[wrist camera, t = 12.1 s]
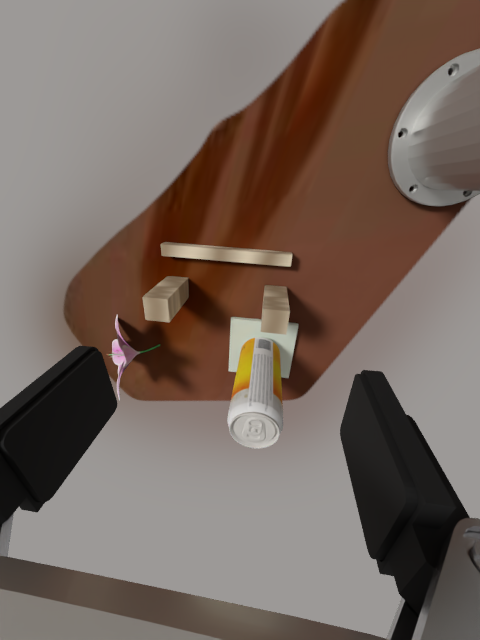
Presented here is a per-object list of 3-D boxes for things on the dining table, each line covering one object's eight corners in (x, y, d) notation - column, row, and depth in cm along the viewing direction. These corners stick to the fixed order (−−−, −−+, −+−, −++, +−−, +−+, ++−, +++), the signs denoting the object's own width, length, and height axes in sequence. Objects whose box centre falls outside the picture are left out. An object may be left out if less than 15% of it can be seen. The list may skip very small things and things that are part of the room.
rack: (291, 252, 33) (296, 269, 26) (283, 306, 36) (286, 334, 29) (165, 242, 34) (136, 255, 27) (169, 295, 38) (145, 319, 31)
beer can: (240, 364, 41) (224, 446, 28) (242, 332, 38) (226, 407, 25) (277, 368, 41) (279, 454, 28) (282, 336, 38) (287, 415, 25)
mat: (298, 323, 37) (298, 325, 37) (288, 375, 42) (288, 378, 41) (231, 316, 38) (230, 318, 38) (229, 368, 43) (228, 371, 42)
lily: (146, 292, 39) (81, 311, 32) (189, 354, 38) (131, 388, 31) (126, 327, 47) (71, 349, 40) (161, 379, 46) (110, 411, 39)
